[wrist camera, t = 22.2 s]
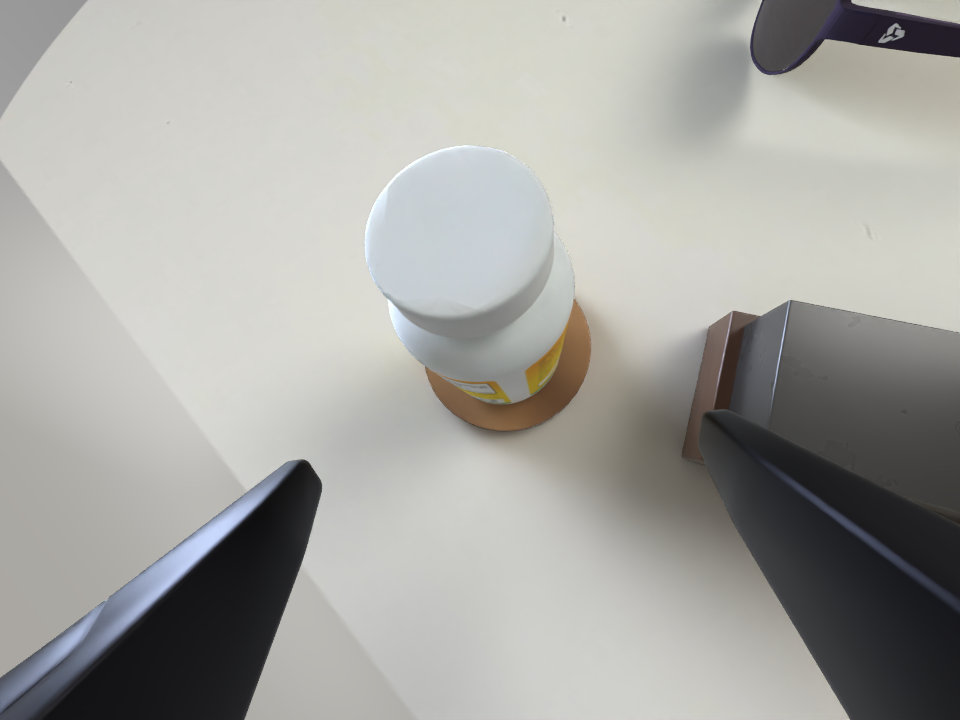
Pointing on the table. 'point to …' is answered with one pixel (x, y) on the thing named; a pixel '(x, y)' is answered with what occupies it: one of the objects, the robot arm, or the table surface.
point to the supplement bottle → (473, 271)
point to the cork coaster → (539, 404)
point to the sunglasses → (841, 31)
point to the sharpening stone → (843, 393)
